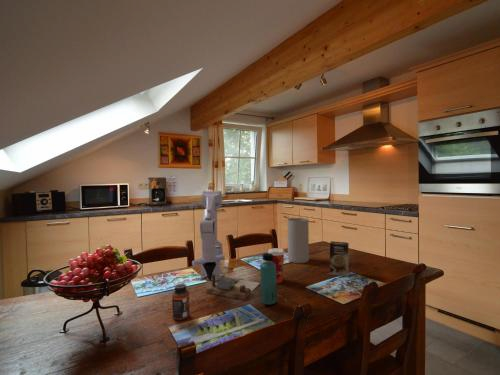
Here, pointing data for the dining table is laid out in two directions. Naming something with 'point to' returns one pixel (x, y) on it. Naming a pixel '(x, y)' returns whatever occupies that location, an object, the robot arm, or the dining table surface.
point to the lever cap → (226, 283)
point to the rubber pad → (248, 284)
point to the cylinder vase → (298, 240)
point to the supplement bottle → (180, 302)
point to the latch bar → (206, 276)
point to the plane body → (234, 293)
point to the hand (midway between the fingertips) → (209, 279)
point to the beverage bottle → (268, 280)
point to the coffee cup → (278, 262)
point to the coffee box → (339, 258)
